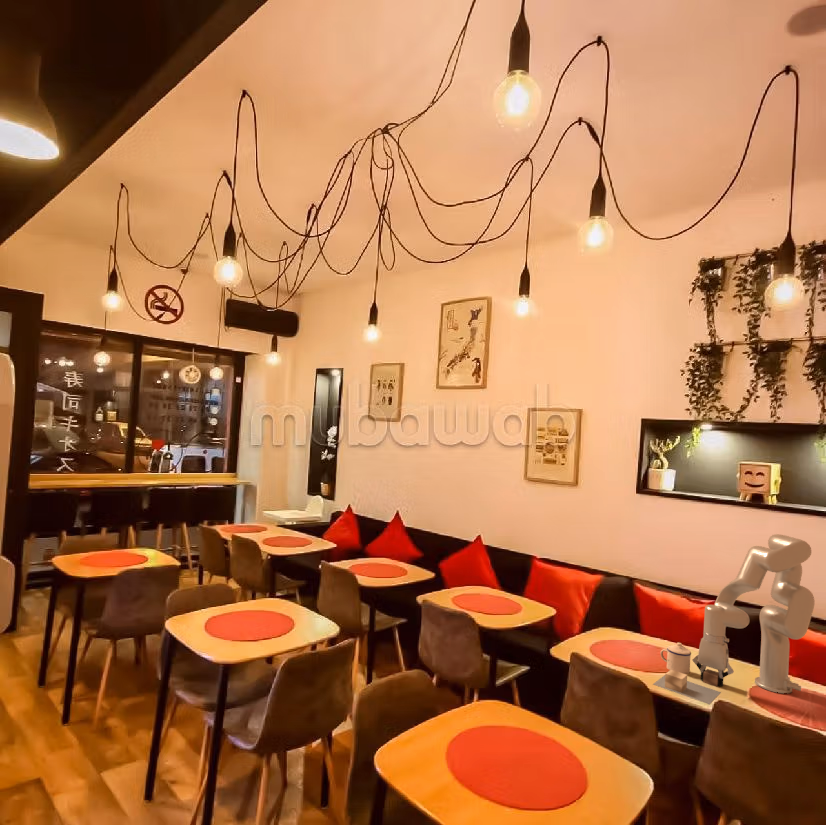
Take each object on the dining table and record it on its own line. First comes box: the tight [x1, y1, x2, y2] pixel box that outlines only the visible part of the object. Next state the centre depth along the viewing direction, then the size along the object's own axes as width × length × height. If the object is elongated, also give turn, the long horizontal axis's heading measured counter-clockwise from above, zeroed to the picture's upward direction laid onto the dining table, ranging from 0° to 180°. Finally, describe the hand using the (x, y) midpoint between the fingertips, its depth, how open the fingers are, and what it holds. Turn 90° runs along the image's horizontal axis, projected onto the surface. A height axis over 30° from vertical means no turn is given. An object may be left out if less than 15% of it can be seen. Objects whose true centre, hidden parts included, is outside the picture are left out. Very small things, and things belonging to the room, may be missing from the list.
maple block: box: [664, 670, 688, 693], centre depth 214 cm, size 6×6×5 cm
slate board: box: [652, 674, 722, 705], centre depth 214 cm, size 20×15×1 cm
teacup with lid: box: [659, 642, 692, 675], centre depth 233 cm, size 12×9×12 cm
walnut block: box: [702, 668, 719, 688], centre depth 221 cm, size 5×5×5 cm
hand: (711, 684), depth 221 cm, fingers closed on walnut block, 5 cm apart
